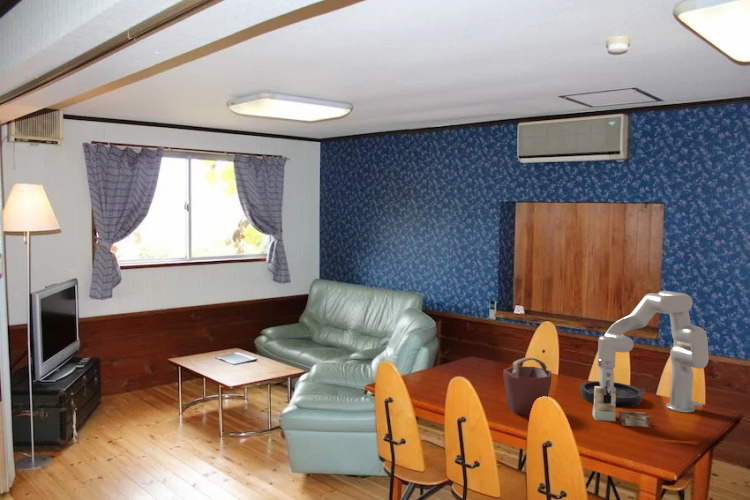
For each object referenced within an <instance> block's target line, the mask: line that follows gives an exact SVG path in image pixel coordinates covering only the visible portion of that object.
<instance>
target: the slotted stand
mask: <svg viewBox="0 0 750 500" xmlns="http://www.w3.org/2000/svg"><path fill="white" fill-rule="evenodd" d="M593 410H594V406H592V411H593ZM616 414H617V412H616V411H615V412H609V411H595V410H594V416H593V412H592V414H591V415H592V417H593V419H594V420H596V421H606V422H607V421H608V422H616V416H617V415H616Z"/></svg>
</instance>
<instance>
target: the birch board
mask: <svg viewBox="0 0 750 500" xmlns="http://www.w3.org/2000/svg"><path fill="white" fill-rule="evenodd" d="M603 399H604V389H602V387H601V386H595V387H594V403H593V407H594V410H595V411H609V412H615V413H616V407H615V403H616V388H615V387H614V389H613V390H612V389H611V404H606V403H603ZM594 410H593V409H592V413H593V415H592V417H593V416H594Z"/></svg>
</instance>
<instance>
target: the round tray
mask: <svg viewBox="0 0 750 500" xmlns="http://www.w3.org/2000/svg"><path fill="white" fill-rule="evenodd" d="M595 386H600V383H599V380H595V381H594V380H593V381H586V382H583V383H581V384H580V386H579V387H580V393H581V396H582V398H583V399H584V400H585V399H586V401H587V402H589V403H591V402H592V404H594V387H595ZM614 387H615V388H616V403H615V408H618V407H629V408H635V407H637V406H639V405H641V402H642V400H643V397H644V392H643V391H642V389H640V388H638V387H636V386H633V385H630V384H625V383H622V382H616V381H615V382H614ZM634 406H635V407H634Z"/></svg>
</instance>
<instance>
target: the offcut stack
mask: <svg viewBox="0 0 750 500" xmlns="http://www.w3.org/2000/svg"><path fill="white" fill-rule="evenodd" d="M646 421H647V419H646V417H638V416H629V418H625V424H626V425H631V426H630V427H638V426H645V427H644V428H649V427H648V424H647V422H646Z"/></svg>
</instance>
